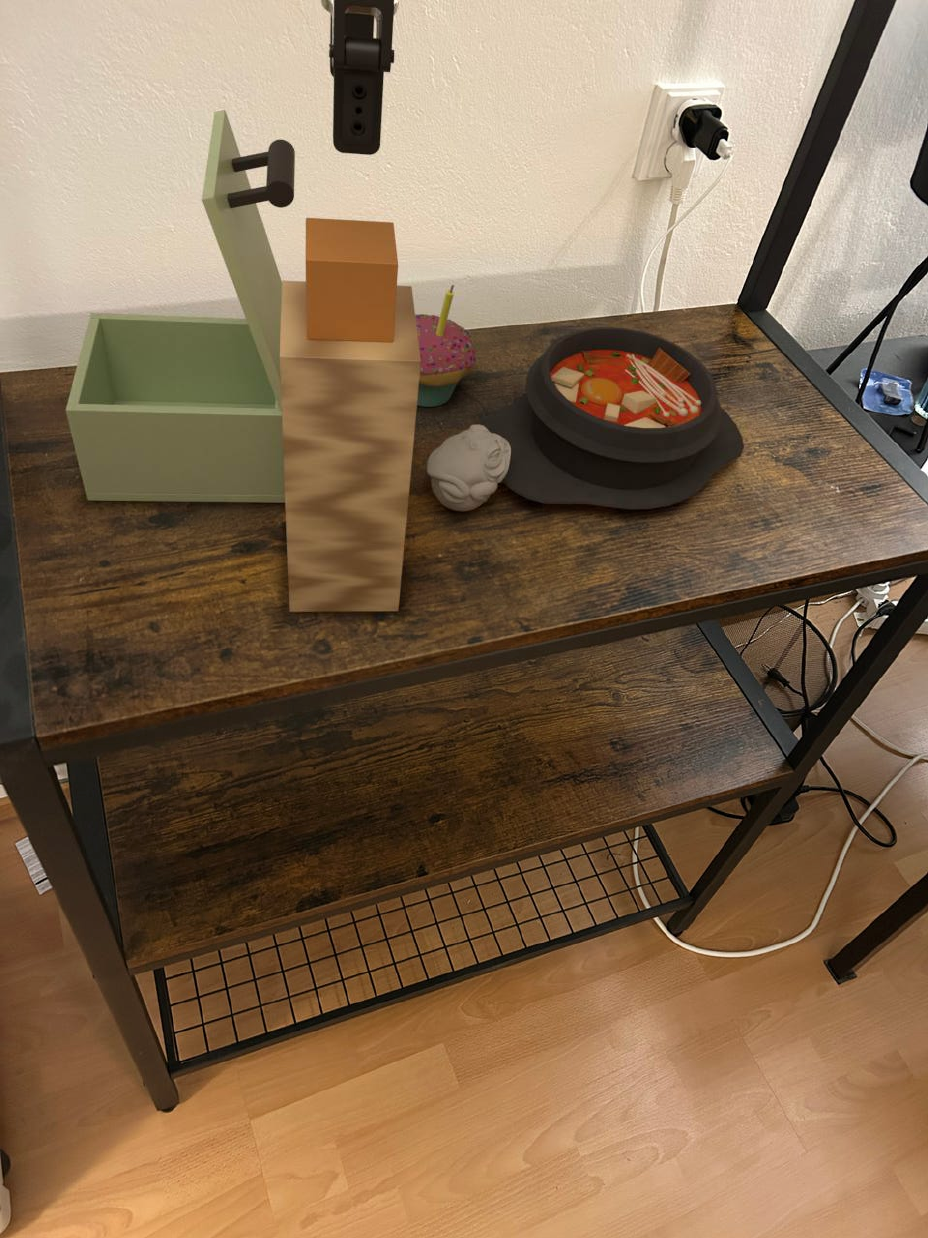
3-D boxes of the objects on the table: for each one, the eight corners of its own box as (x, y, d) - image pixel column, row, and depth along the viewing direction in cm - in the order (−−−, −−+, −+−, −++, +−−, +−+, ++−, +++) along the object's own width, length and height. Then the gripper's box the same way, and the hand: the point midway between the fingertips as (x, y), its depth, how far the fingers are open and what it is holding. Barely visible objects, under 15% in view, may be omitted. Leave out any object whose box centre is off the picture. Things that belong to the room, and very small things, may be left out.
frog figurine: (515, 517, 80) (528, 451, 75) (438, 536, 78) (446, 469, 73) (483, 471, 84) (494, 405, 79) (409, 487, 81) (415, 420, 76)
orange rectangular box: (306, 339, 56) (305, 259, 52) (306, 296, 59) (305, 216, 55) (393, 342, 57) (398, 263, 53) (389, 299, 60) (393, 221, 56)
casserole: (667, 371, 97) (691, 296, 90) (778, 491, 86) (814, 415, 80) (439, 416, 88) (448, 336, 82) (533, 556, 78) (551, 476, 71)
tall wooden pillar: (289, 612, 71) (279, 356, 55) (290, 535, 76) (282, 279, 60) (398, 611, 72) (421, 360, 56) (392, 535, 77) (411, 285, 61)
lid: (201, 199, 59) (282, 182, 59) (214, 111, 67) (285, 96, 67) (280, 411, 72) (347, 398, 71) (283, 315, 80) (343, 304, 79)
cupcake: (488, 396, 91) (506, 280, 82) (424, 433, 86) (437, 313, 77) (423, 354, 94) (434, 237, 85) (359, 387, 90) (363, 267, 81)
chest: (87, 500, 76) (65, 409, 70) (108, 401, 84) (90, 312, 78) (288, 503, 79) (285, 415, 72) (290, 406, 87) (288, 319, 80)
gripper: (270, -368, 41) (280, 52, 53) (260, -322, 32) (274, 173, 44) (446, -341, 42) (416, 64, 54) (486, -289, 33) (439, 184, 45)
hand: (353, 112), depth 49 cm, fingers open, 8 cm apart
